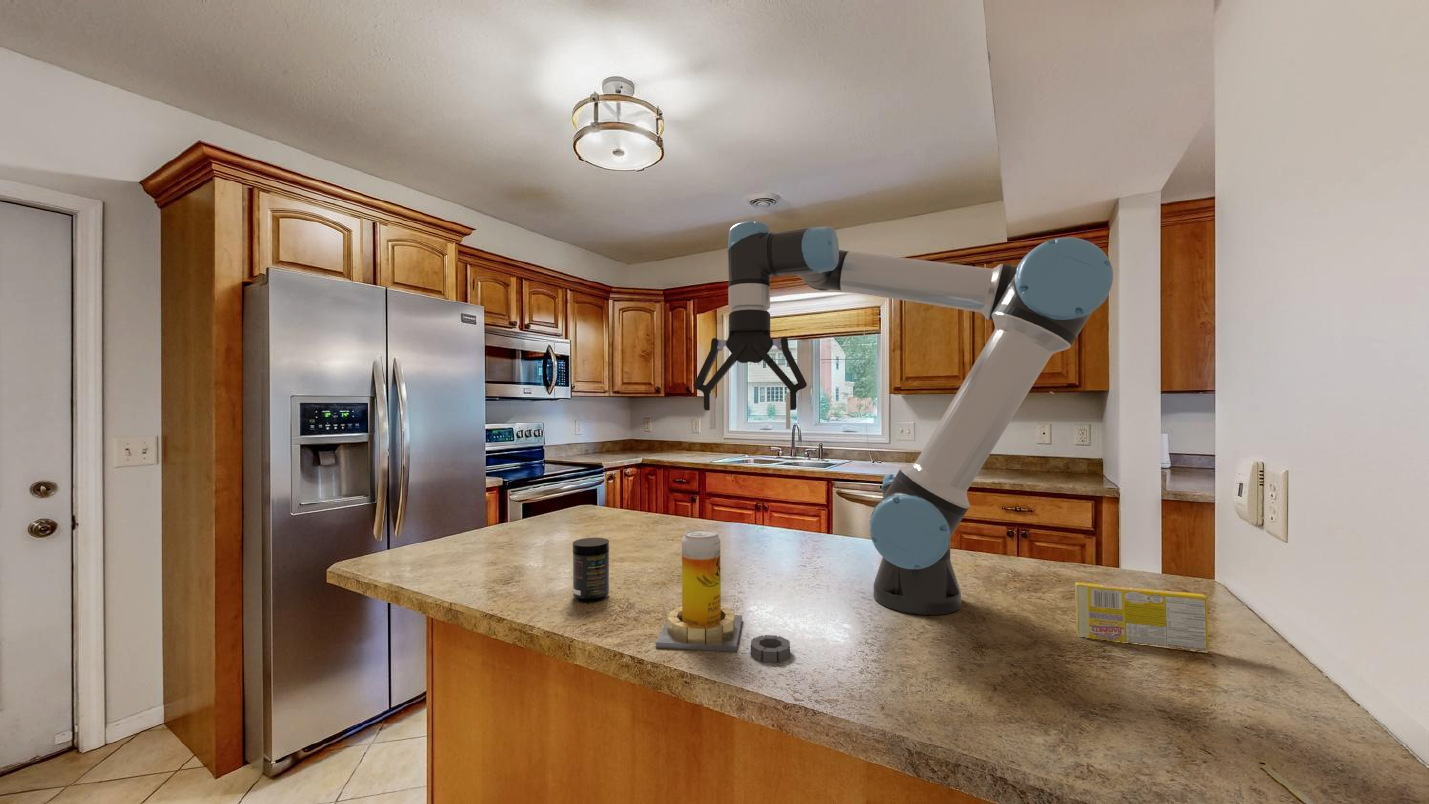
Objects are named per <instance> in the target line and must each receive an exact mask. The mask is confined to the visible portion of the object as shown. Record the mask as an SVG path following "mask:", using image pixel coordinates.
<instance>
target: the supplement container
mask: <svg viewBox="0 0 1429 804" xmlns="http://www.w3.org/2000/svg"><path fill="white" fill-rule="evenodd" d="M609 594H610V540H609V539H608V538H606V537H605V538H604V537H585V538H579V539H576V540H574V541H572V597H573V599H574V600H575V601H577V602H580V603H588V604H589V603H590V604H591V603H597V602H601V601H604V600H605V599H607V598H608V597H609Z"/></svg>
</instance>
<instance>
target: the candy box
mask: <svg viewBox="0 0 1429 804" xmlns="http://www.w3.org/2000/svg"><path fill="white" fill-rule="evenodd" d="M1074 596H1075V599H1074V600H1075V601H1074V602H1075V635H1076V634H1077V635H1076V637H1077V636H1078V637H1077V638H1079V637H1086V638H1085V639H1087V638H1094V639H1101V640H1100V641H1102V640H1107V641H1106V642H1110V641H1120V642H1128V643H1138V644H1147V645H1158V646H1168V647H1178V648H1184V649H1185V648H1186V649H1193V650H1194V649H1195V650H1208V651H1209V652H1210V639H1209V625H1208V624H1209V621H1208V596H1206V595H1205V594H1202V593H1193V592H1185V591H1184V592H1183V591H1173V590H1172V591H1171V590H1162V589H1149V588H1139V587H1129V586H1121V585H1120V586H1116V585H1106V584H1097V583H1086V582H1085V583H1084V582H1074ZM1094 639H1093V640H1094ZM1108 640H1109V641H1108Z"/></svg>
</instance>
